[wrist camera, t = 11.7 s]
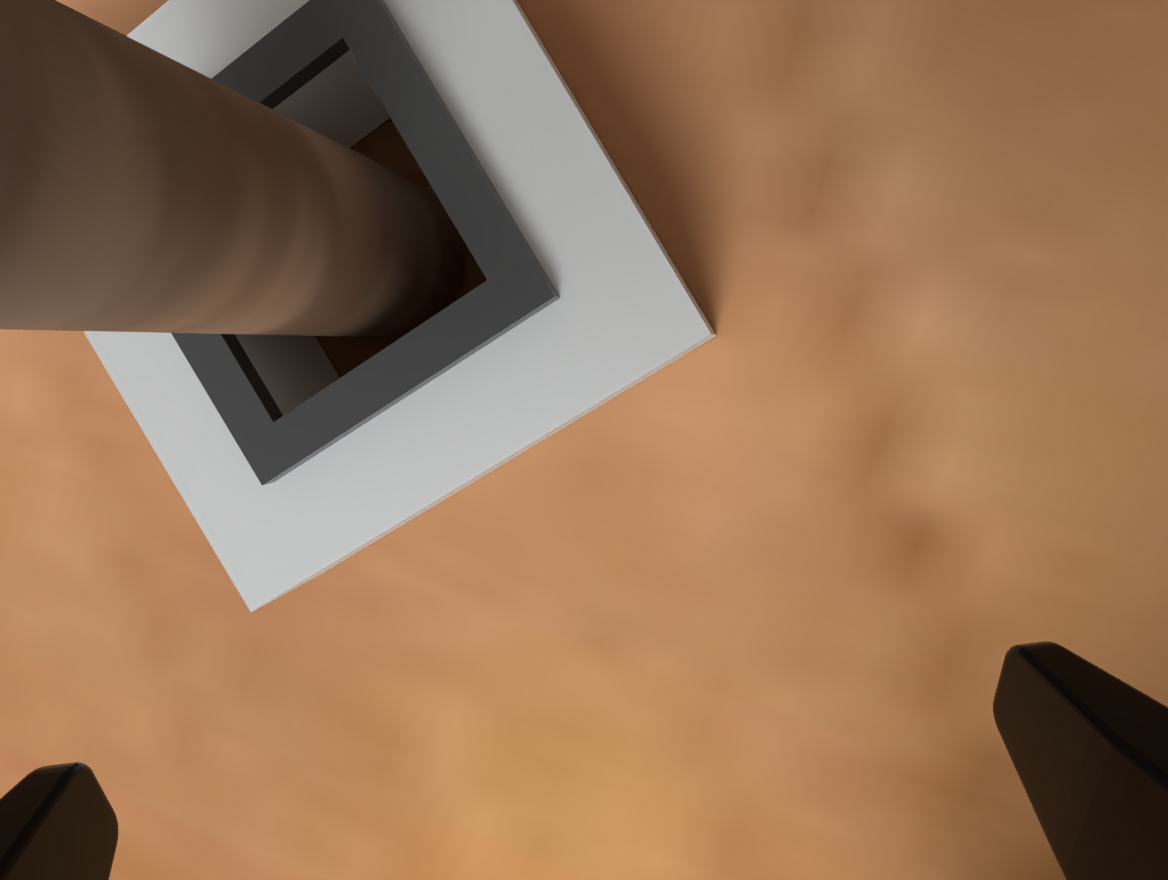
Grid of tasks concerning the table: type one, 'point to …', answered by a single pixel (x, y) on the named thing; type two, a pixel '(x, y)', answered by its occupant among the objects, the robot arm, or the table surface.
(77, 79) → the walnut peg
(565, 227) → the socket block
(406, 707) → the table surface
